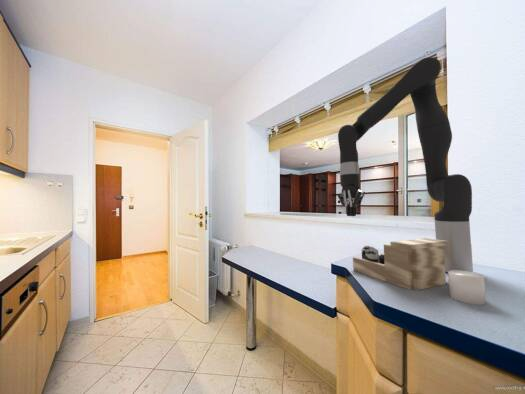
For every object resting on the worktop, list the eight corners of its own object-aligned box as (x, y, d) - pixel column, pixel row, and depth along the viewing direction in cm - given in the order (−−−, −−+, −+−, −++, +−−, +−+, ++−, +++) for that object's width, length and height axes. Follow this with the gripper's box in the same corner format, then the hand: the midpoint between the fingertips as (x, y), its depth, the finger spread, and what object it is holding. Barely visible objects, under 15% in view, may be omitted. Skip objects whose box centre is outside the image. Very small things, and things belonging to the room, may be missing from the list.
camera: (396, 276, 71) (394, 248, 72) (370, 275, 72) (369, 247, 73) (380, 268, 84) (379, 244, 85) (359, 268, 85) (358, 244, 86)
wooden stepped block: (385, 265, 84) (383, 233, 85) (450, 282, 64) (448, 240, 65) (352, 270, 78) (351, 236, 79) (413, 291, 58) (411, 244, 59)
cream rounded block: (459, 292, 57) (457, 269, 57) (492, 301, 51) (490, 275, 51) (443, 296, 55) (442, 271, 55) (476, 306, 49) (474, 279, 49)
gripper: (369, 172, 85) (371, 216, 85) (345, 176, 98) (346, 215, 97) (355, 171, 83) (356, 216, 82) (331, 176, 95) (332, 215, 95)
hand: (351, 215), depth 90 cm, fingers closed
